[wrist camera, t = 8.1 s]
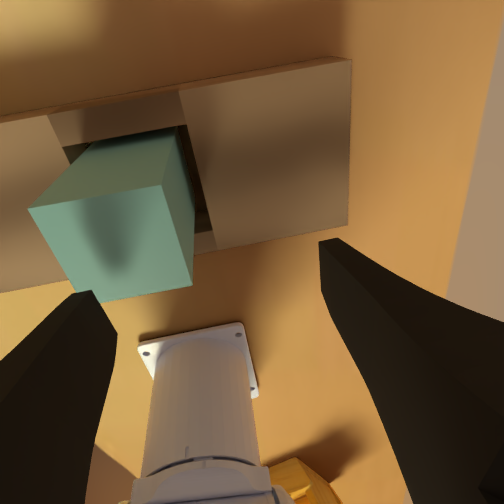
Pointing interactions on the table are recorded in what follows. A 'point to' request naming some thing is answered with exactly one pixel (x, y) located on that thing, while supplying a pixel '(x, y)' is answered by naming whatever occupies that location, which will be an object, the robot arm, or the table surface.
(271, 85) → the walnut rail
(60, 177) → the teal peg
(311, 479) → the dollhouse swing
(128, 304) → the table surface
